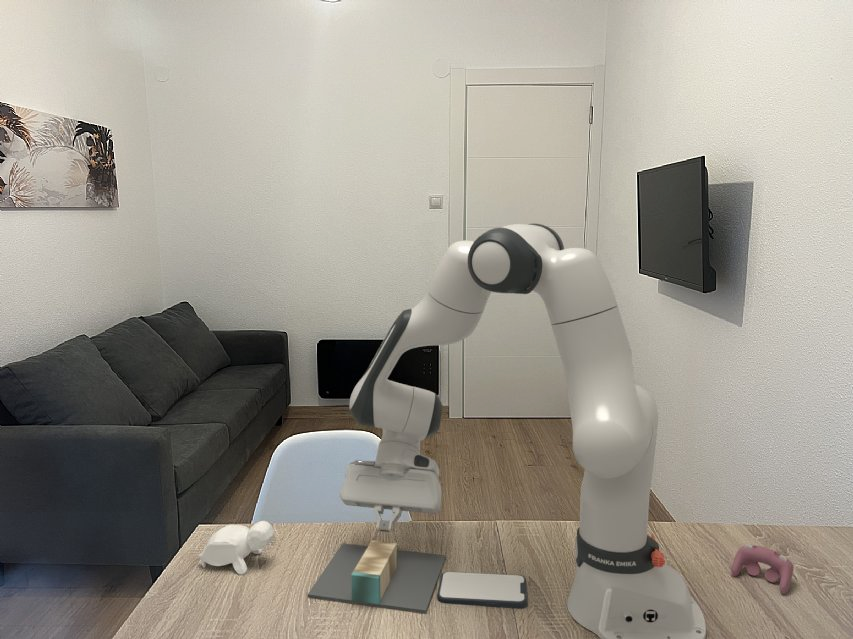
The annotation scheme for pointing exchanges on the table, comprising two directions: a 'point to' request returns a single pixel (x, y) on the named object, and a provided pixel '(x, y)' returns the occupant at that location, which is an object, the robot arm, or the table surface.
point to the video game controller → (756, 554)
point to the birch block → (374, 572)
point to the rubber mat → (404, 589)
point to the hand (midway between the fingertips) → (384, 531)
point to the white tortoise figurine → (236, 545)
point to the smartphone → (483, 589)
